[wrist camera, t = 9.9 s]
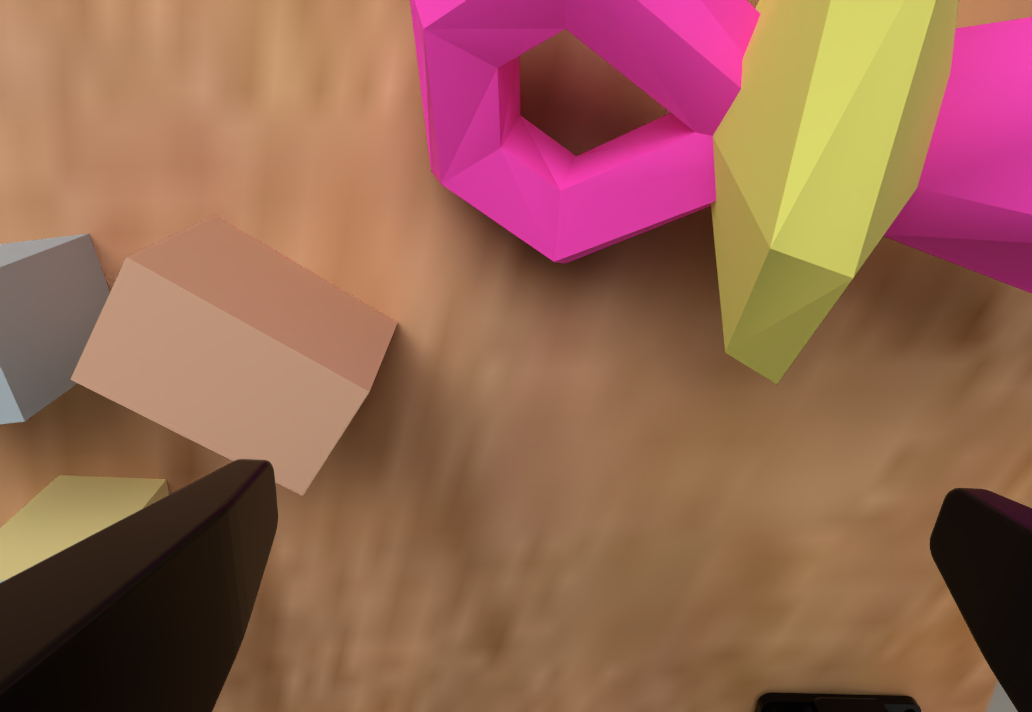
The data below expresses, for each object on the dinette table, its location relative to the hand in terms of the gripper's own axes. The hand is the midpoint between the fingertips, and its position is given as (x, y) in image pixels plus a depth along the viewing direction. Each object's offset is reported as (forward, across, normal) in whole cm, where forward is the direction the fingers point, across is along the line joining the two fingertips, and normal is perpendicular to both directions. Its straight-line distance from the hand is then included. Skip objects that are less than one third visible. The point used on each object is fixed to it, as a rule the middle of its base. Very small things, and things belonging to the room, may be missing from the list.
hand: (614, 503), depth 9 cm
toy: (+12, -5, -5) cm, 14 cm away
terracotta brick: (+12, +8, +2) cm, 15 cm away
